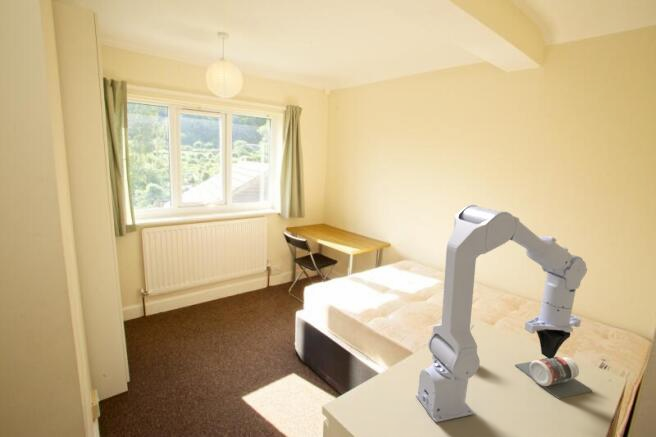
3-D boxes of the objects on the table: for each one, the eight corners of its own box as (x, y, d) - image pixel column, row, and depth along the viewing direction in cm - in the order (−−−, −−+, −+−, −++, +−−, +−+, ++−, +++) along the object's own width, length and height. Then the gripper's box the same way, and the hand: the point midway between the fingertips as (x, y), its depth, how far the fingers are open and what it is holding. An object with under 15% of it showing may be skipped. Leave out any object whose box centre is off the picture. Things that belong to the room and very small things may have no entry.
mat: (557, 398, 73) (558, 397, 73) (514, 365, 84) (515, 364, 84) (591, 391, 75) (592, 389, 75) (545, 360, 87) (545, 359, 87)
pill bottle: (540, 357, 76) (570, 351, 79) (524, 364, 80) (553, 358, 83) (555, 383, 72) (586, 376, 75) (538, 389, 77) (568, 382, 79)
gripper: (548, 314, 67) (538, 371, 70) (598, 307, 71) (587, 362, 74) (520, 299, 74) (512, 352, 76) (567, 294, 78) (558, 344, 80)
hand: (547, 355), depth 75 cm, fingers closed
